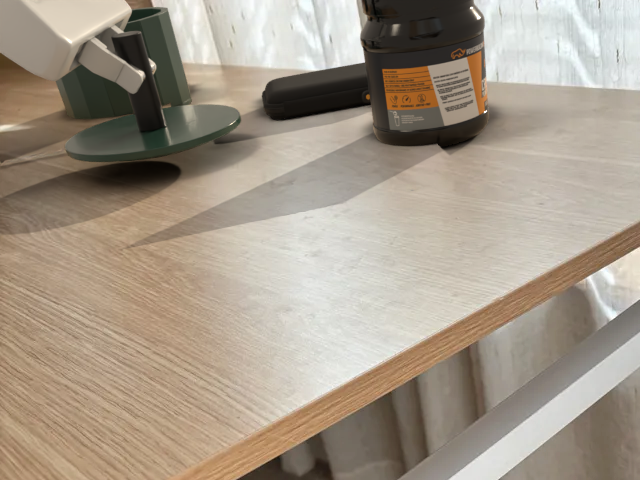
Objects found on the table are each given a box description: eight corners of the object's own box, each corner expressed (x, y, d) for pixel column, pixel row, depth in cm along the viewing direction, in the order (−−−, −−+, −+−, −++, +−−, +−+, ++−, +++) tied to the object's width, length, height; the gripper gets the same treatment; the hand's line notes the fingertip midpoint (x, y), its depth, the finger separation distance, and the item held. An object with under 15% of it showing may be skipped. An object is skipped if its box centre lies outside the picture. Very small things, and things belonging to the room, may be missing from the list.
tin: (67, 137, 93) (32, 41, 87) (76, 110, 104) (46, 24, 98) (194, 112, 94) (168, 16, 88) (189, 88, 105) (166, 2, 99)
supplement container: (475, 150, 68) (464, -21, 61) (359, 156, 72) (334, -6, 64) (501, 115, 76) (494, -41, 68) (394, 122, 79) (376, -27, 71)
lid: (62, 182, 69) (19, 65, 63) (76, 137, 81) (41, 36, 76) (250, 146, 71) (224, 30, 65) (236, 108, 83) (213, 7, 77)
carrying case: (268, 132, 82) (410, 106, 83) (261, 99, 80) (406, 72, 81) (264, 109, 91) (394, 85, 91) (258, 78, 89) (390, 54, 89)
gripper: (24, -17, 77) (157, 86, 82) (-74, 18, 61) (99, 141, 67) (50, -83, 73) (187, 28, 79) (-45, -64, 58) (133, 72, 63)
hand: (146, 80), depth 73 cm, fingers closed on lid, 2 cm apart
